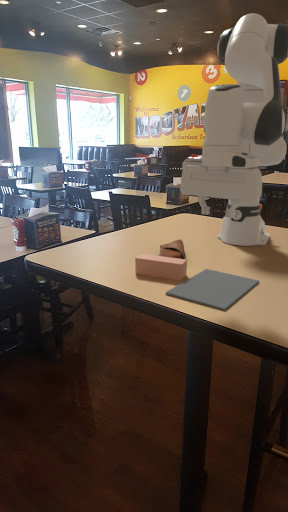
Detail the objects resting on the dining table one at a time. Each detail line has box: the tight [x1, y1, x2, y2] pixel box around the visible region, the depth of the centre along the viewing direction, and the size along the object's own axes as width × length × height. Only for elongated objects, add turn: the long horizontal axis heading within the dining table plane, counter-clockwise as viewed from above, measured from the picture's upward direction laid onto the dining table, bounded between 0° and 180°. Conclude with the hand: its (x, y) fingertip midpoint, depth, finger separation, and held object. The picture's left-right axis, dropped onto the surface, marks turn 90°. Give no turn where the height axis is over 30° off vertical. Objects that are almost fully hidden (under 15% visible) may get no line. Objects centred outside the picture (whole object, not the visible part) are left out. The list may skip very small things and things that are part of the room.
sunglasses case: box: [158, 239, 186, 259], centre depth 124 cm, size 18×7×7 cm
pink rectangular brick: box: [134, 253, 188, 281], centre depth 109 cm, size 4×14×5 cm, turn 67°
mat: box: [165, 268, 260, 312], centre depth 99 cm, size 22×16×1 cm
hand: (217, 215), depth 94 cm, fingers open, 5 cm apart
